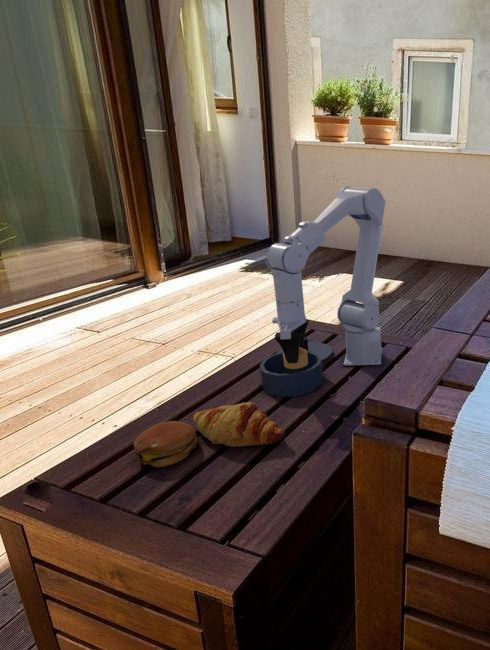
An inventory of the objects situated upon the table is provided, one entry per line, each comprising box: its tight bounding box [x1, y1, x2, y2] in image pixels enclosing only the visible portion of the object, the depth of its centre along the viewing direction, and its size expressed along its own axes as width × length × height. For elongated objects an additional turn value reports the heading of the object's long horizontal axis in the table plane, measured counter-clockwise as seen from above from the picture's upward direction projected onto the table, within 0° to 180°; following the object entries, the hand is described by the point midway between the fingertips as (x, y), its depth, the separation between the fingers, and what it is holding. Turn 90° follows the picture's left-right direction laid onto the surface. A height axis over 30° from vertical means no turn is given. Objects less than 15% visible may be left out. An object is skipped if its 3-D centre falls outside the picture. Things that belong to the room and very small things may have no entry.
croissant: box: [192, 401, 286, 448], centre depth 90 cm, size 21×10×8 cm, turn 72°
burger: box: [132, 420, 199, 468], centre depth 85 cm, size 10×9×5 cm
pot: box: [259, 351, 324, 398], centre depth 111 cm, size 14×14×5 cm
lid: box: [275, 336, 333, 362], centre depth 125 cm, size 15×15×5 cm
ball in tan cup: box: [283, 347, 308, 369], centre depth 105 cm, size 5×5×4 cm
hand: (295, 357), depth 105 cm, fingers closed on ball in tan cup, 5 cm apart
